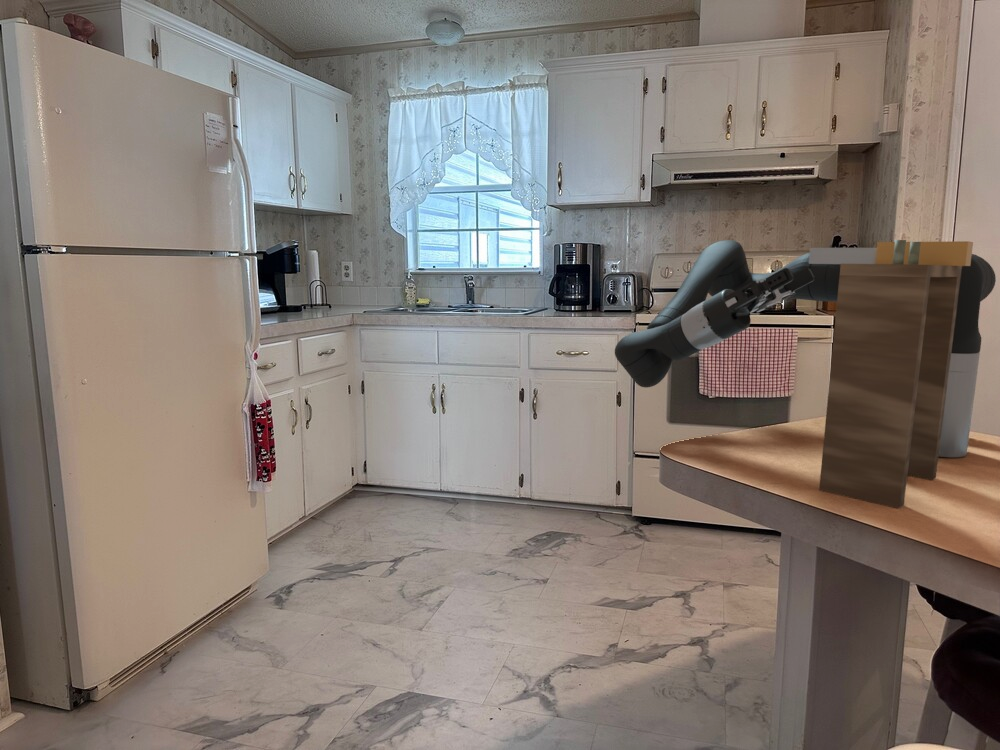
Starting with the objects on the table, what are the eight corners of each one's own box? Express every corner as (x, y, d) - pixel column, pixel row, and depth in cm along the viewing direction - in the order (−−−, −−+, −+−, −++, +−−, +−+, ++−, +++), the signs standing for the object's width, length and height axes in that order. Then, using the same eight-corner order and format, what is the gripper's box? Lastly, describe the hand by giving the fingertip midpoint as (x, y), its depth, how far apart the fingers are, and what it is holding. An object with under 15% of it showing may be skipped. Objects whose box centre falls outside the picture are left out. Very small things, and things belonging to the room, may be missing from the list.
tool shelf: (863, 463, 109) (886, 244, 104) (935, 477, 103) (964, 244, 97) (819, 490, 96) (842, 240, 90) (899, 508, 89) (930, 239, 84)
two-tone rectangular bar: (815, 263, 108) (817, 243, 108) (970, 266, 94) (973, 242, 94) (807, 263, 106) (809, 242, 106) (965, 265, 92) (968, 241, 92)
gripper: (742, 337, 123) (829, 294, 112) (703, 342, 113) (794, 295, 102) (725, 299, 125) (808, 253, 114) (684, 301, 114) (772, 250, 104)
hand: (801, 273), depth 108 cm, fingers open, 8 cm apart
